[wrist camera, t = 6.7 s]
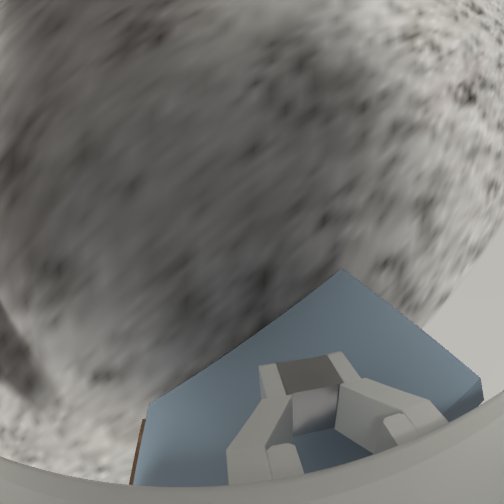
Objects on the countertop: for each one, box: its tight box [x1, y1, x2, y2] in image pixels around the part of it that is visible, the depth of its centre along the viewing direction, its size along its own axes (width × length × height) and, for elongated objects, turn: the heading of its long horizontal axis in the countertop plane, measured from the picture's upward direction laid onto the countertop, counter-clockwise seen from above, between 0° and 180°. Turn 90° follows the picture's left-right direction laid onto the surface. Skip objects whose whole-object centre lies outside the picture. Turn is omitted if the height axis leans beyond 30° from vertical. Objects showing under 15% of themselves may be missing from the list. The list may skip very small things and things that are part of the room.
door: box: [133, 268, 484, 487], centre depth 12 cm, size 15×3×11 cm, turn 127°
